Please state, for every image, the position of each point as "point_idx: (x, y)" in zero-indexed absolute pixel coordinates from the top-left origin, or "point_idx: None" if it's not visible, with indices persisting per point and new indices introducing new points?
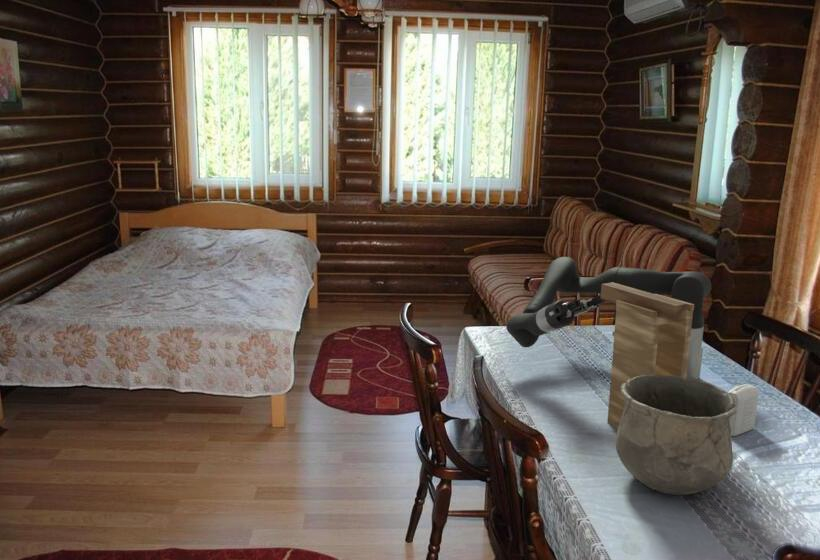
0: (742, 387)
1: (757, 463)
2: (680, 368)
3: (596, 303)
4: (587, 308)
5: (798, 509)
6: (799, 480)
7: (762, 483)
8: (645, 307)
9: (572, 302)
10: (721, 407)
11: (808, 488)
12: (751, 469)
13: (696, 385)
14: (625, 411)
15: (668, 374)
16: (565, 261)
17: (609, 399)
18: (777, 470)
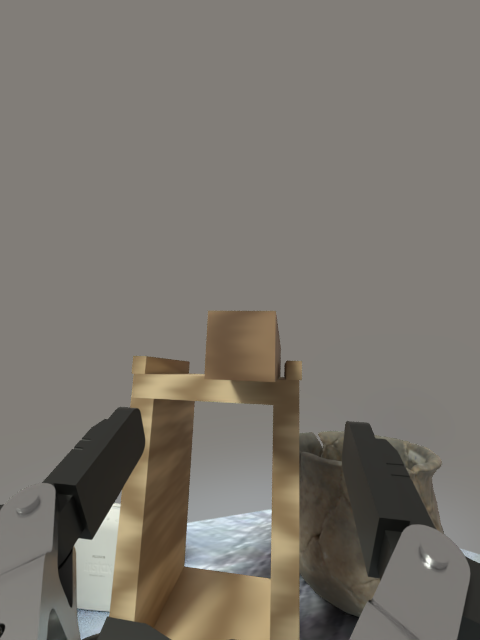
0: (119, 504)
1: (205, 553)
2: (186, 507)
3: (111, 491)
4: (75, 626)
5: (267, 516)
6: (211, 525)
7: (249, 539)
8: (279, 364)
9: (400, 460)
10: (303, 451)
11: (222, 519)
12: (227, 552)
13: None
14: (431, 499)
15: (174, 553)
16: None
17: None
18: (206, 539)
